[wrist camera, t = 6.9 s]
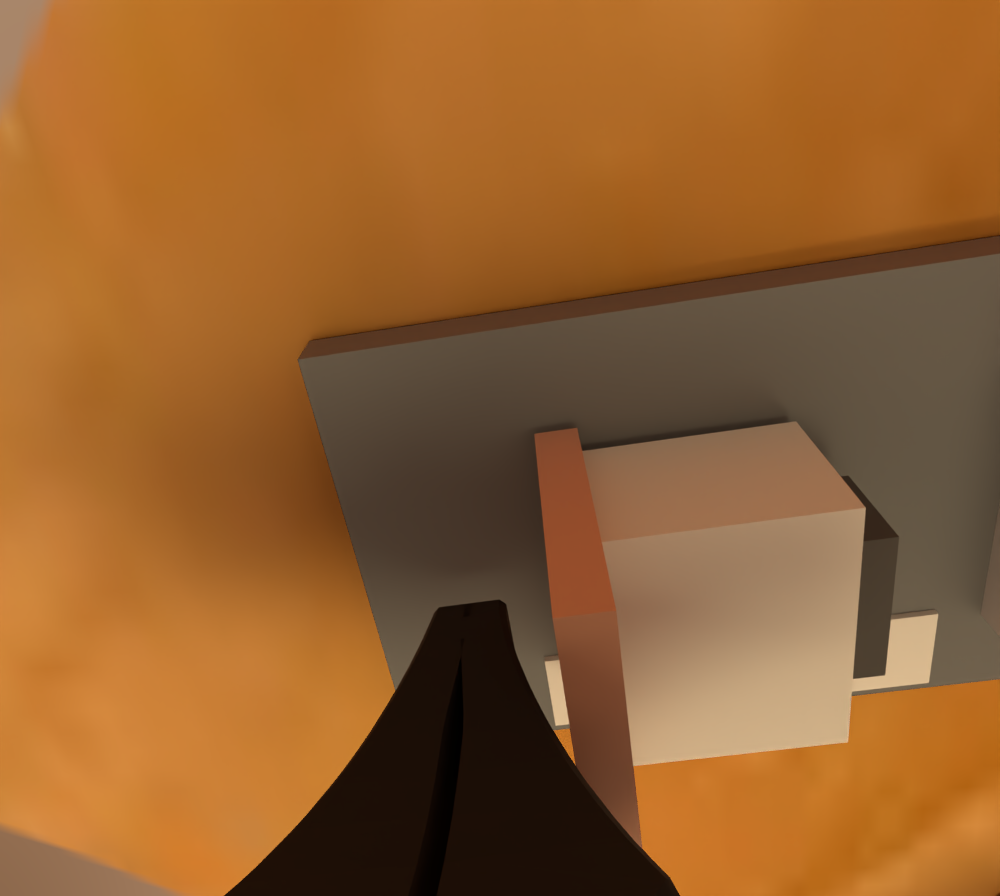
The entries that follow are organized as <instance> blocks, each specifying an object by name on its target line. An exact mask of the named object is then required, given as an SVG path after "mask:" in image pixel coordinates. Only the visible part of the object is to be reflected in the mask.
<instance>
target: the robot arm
mask: <svg viewBox="0 0 1000 896" xmlns="http://www.w3.org/2000/svg"><path fill="white" fill-rule="evenodd" d="M224 896H680V895H679V893H678V891H677V890H676V888H675V886H674V884H673V882H672V881H671V879H670V877H669V876H668V875H667V874H666V873H665V872H664V871H663V870H662V869H661V868H660V867H659V866H658V865H657V864H656V863H655V862H654V861H653V860H652V859H651V858H650V857H649V856H648V855H647V854H646V852H645V851H644V850H643V849H642V848H641V847H640V846H639V845H638V844H637V843H636V842H635V841H634V840H633V838H632V837H631V836H630V835H629V834H628V833H627V831H626V830H625V829H624V828H623V827H622V826H621V824H620V823H619V822H618V821H617V820H616V819H615V818H614V816H613V815H612V814H611V812H610V811H609V810H608V809H607V807H606V806H605V805H604V803H603V802H602V801H601V799H600V798H599V797H598V796H597V794H596V793H595V792H594V790H593V789H592V788H591V787H590V785H589V784H588V783H587V781H586V780H585V779H584V777H583V776H582V774H581V773H580V771H579V770H578V768H577V767H576V766H575V764H574V763H573V761H572V760H571V758H570V757H569V755H568V754H567V752H566V750H565V749H564V747H563V746H562V744H561V742H560V741H559V739H558V738H557V736H556V734H555V733H554V731H553V729H552V727H551V726H550V724H549V722H548V720H547V719H546V717H545V715H544V713H543V711H542V709H541V707H540V705H539V703H538V702H537V700H536V698H535V696H534V693H533V691H532V689H531V687H530V685H529V683H528V680H527V678H526V676H525V673H524V671H523V669H522V666H521V664H520V662H519V659H518V656H517V654H516V651H515V647H514V642H513V636H512V631H511V626H510V621H509V616H508V610H507V605H506V604H505V603H504V602H502V601H501V600H491V601H483V602H476V603H468V604H460V605H452V606H444V607H439V608H438V609H437V610H436V611H435V612H434V614H433V617H432V619H431V621H430V624H429V626H428V628H427V630H426V633H425V635H424V637H423V639H422V641H421V643H420V645H419V647H418V649H417V651H416V653H415V655H414V657H413V659H412V661H411V663H410V665H409V667H408V669H407V671H406V673H405V674H404V676H403V678H402V680H401V682H400V684H399V685H398V687H397V689H396V691H395V693H394V694H393V696H392V698H391V700H390V701H389V703H388V704H387V706H386V708H385V709H384V711H383V712H382V714H381V716H380V717H379V719H378V720H377V722H376V724H375V725H374V727H373V728H372V730H371V732H370V733H369V735H368V736H367V738H366V739H365V741H364V742H363V743H362V745H361V746H360V748H359V749H358V751H357V752H356V753H355V755H354V756H353V758H352V759H351V760H350V762H349V763H348V764H347V766H346V767H345V768H344V770H343V771H342V772H341V774H340V775H339V776H338V778H337V779H336V780H335V781H334V783H333V784H332V785H331V786H330V788H329V789H328V790H327V791H326V792H325V794H324V795H323V796H322V797H321V798H320V800H319V801H318V802H317V803H316V804H315V806H314V807H313V808H312V809H311V810H310V811H309V813H308V814H307V815H306V816H305V817H304V818H303V819H302V820H301V822H300V823H299V824H298V825H297V826H296V827H295V828H294V829H293V830H292V831H291V832H290V833H289V834H288V835H287V836H286V837H285V838H284V840H283V841H282V842H281V843H280V844H279V845H278V846H277V847H276V848H275V849H274V850H273V851H272V852H271V853H270V854H269V855H268V856H267V857H266V858H265V859H264V860H263V861H262V862H261V863H260V864H259V865H258V866H257V867H256V868H255V869H254V870H253V871H251V872H250V873H249V874H248V875H247V876H246V877H245V878H244V879H243V880H242V881H241V882H239V883H238V884H237V885H236V886H235V887H234V888H232V889H231V890H230V891H229V892H228V893H227V894H225V895H224Z"/></svg>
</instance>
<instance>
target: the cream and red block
mask: <svg viewBox="0 0 1000 896" xmlns="http://www.w3.org/2000/svg"><path fill="white" fill-rule="evenodd" d="M534 436H535V447H536V457H537V467H538V477H539V487H540V497H541V507H542V517H543V528H544V538H545V548H546V558H547V568H548V578H549V588H550V598H551V609H552V619H553V625H554V631H555V638H556V644H557V650H558V656H559V663H560V669H561V675H562V682H563V688H564V694H565V701H566V707H567V713H568V720H569V726H570V732H571V738H572V745H573V751H574V757H575V764H576V767H577V768H578V770H579V771H580V773H581V774H582V776H583V777H584V779H585V780H586V781H587V783H588V784H589V785H590V787H591V788H592V789H593V790H594V792H595V793H596V794H597V796H598V797H599V798H600V799H601V801H602V802H603V803H604V805H605V806H606V807H607V809H608V810H609V811H610V812H611V814H612V815H613V816H614V818H615V819H616V820H617V821H618V822H619V823H620V824H621V826H622V827H623V828H624V829H625V830H626V831H627V833H628V834H629V835H630V836H631V837H632V838H633V840H634V841H635V842H636V843H637V844H638V845H639V846H640V847H641V848H642V842H641V833H640V824H639V815H638V806H637V796H636V787H635V778H634V769H633V766H638V765H647V764H656V763H665V762H674V761H683V760H692V759H701V758H710V757H719V756H728V755H737V754H746V753H755V752H764V751H773V750H782V749H791V748H800V747H809V746H818V745H827V744H836V743H845V742H848V735H849V722H850V709H851V696H852V683H853V679H858V678H867V677H875V676H884V675H885V673H886V663H887V653H888V643H889V633H890V623H891V614H892V604H893V594H894V584H895V574H896V565H897V555H898V545H899V536H898V535H897V533H896V532H895V531H894V530H893V529H892V527H891V526H890V525H889V524H888V523H887V521H886V520H885V519H884V518H883V517H882V515H881V514H880V513H879V512H878V511H877V509H876V508H875V507H874V506H873V505H872V503H871V502H870V501H869V500H868V498H867V497H866V496H865V495H864V494H863V492H862V491H861V490H860V489H859V488H858V486H857V485H856V484H855V483H854V482H853V480H852V479H851V478H850V477H849V476H840V475H839V474H838V473H837V471H836V470H835V469H834V468H833V466H832V465H831V464H830V463H829V462H828V460H827V459H826V458H825V457H824V455H823V454H822V453H821V452H820V450H819V449H818V448H817V447H816V445H815V444H814V443H813V442H812V440H811V439H810V438H809V437H808V436H807V434H806V433H805V432H804V431H803V429H802V428H801V427H800V426H799V424H798V423H797V422H796V421H795V422H788V423H780V424H773V425H766V426H759V427H752V428H744V429H737V430H730V431H723V432H716V433H709V434H701V435H694V436H687V437H680V438H673V439H665V440H658V441H651V442H644V443H637V444H629V445H622V446H615V447H608V448H601V449H594V450H586V451H582V448H581V443H580V439H579V434H578V429H577V428H572V429H564V430H557V431H550V432H543V433H536V434H534Z"/></svg>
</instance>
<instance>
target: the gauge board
mask: <svg viewBox="0 0 1000 896" xmlns="http://www.w3.org/2000/svg"><path fill="white" fill-rule="evenodd" d="M298 362H299V366H300V369H301V373H302V376H303V379H304V383H305V386H306V390H307V393H308V396H309V400H310V403H311V406H312V410H313V413H314V417H315V420H316V423H317V427H318V430H319V434H320V437H321V440H322V444H323V447H324V450H325V454H326V457H327V461H328V464H329V467H330V471H331V474H332V477H333V481H334V484H335V488H336V491H337V494H338V498H339V501H340V505H341V508H342V511H343V515H344V518H345V521H346V525H347V528H348V532H349V535H350V538H351V542H352V545H353V549H354V552H355V555H356V559H357V562H358V565H359V569H360V572H361V576H362V579H363V582H364V586H365V589H366V592H367V596H368V599H369V603H370V606H371V609H372V613H373V616H374V620H375V623H376V626H377V630H378V633H379V636H380V640H381V643H382V647H383V650H384V653H385V657H386V660H387V663H388V667H389V670H390V674H391V677H392V680H393V684H394V687H395V691H396V689H397V687H398V685H399V684H400V682H401V680H402V678H403V676H404V674H405V673H406V671H407V669H408V667H409V665H410V663H411V661H412V659H413V657H414V655H415V653H416V651H417V649H418V647H419V645H420V643H421V641H422V639H423V637H424V635H425V633H426V630H427V628H428V626H429V624H430V621H431V619H432V617H433V614H434V612H435V611H436V610H437V609H438V608H439V607H444V606H452V605H460V604H468V603H476V602H483V601H491V600H501V601H502V602H504V603H505V604H506V605H507V610H508V616H509V621H510V626H511V631H512V636H513V642H514V647H515V651H516V654H517V656H518V659H519V662H520V664H521V666H522V669H523V671H524V673H525V676H526V678H527V680H528V683H529V685H530V687H531V689H532V691H533V693H534V696H535V698H536V700H537V702H538V703H539V705H540V707H541V709H542V711H543V713H544V715H545V717H546V719H547V720H548V722H549V724H550V726H551V727H552V729H553V730H560V729H568V728H570V726H569V720H568V713H567V707H566V701H565V694H564V688H563V682H562V675H561V669H560V663H559V656H558V650H557V644H556V638H555V631H554V625H553V619H552V609H551V598H550V588H549V578H548V568H547V558H546V548H545V538H544V528H543V517H542V507H541V497H540V487H539V477H538V467H537V457H536V447H535V436H534V434H536V433H543V432H550V431H557V430H564V429H572V428H577V429H578V434H579V439H580V443H581V448H582V451H586V450H594V449H601V448H608V447H615V446H622V445H629V444H637V443H644V442H651V441H658V440H665V439H673V438H680V437H687V436H694V435H701V434H709V433H716V432H723V431H730V430H737V429H744V428H752V427H759V426H766V425H773V424H780V423H788V422H795V421H796V422H797V423H798V424H799V426H800V427H801V428H802V429H803V431H804V432H805V433H806V434H807V436H808V437H809V438H810V439H811V440H812V442H813V443H814V444H815V445H816V447H817V448H818V449H819V450H820V452H821V453H822V454H823V455H824V457H825V458H826V459H827V460H828V462H829V463H830V464H831V465H832V466H833V468H834V469H835V470H836V471H837V473H838V474H839V475H840V476H849V477H850V478H851V479H852V480H853V482H854V483H855V484H856V485H857V486H858V488H859V489H860V490H861V491H862V492H863V494H864V495H865V496H866V497H867V498H868V500H869V501H870V502H871V503H872V505H873V506H874V507H875V508H876V509H877V511H878V512H879V513H880V514H881V515H882V517H883V518H884V519H885V520H886V521H887V523H888V524H889V525H890V526H891V527H892V529H893V530H894V531H895V532H896V533H897V535H898V536H899V545H898V555H897V565H896V574H895V584H894V594H893V604H892V614H891V623H890V633H889V643H888V653H887V663H886V673H885V675H884V676H875V677H867V678H858V679H853V683H852V696H856V695H865V694H873V693H882V692H891V691H900V690H908V689H917V688H926V687H935V686H943V685H952V684H961V683H969V682H978V681H987V680H996V679H1000V236H995V237H988V238H981V239H975V240H968V241H962V242H955V243H949V244H942V245H936V246H929V247H922V248H916V249H909V250H903V251H896V252H890V253H883V254H877V255H870V256H863V257H857V258H850V259H844V260H837V261H831V262H824V263H818V264H811V265H804V266H798V267H791V268H785V269H778V270H772V271H765V272H758V273H752V274H745V275H739V276H732V277H726V278H719V279H713V280H706V281H699V282H693V283H686V284H680V285H673V286H667V287H660V288H654V289H647V290H640V291H634V292H627V293H621V294H614V295H608V296H601V297H595V298H588V299H581V300H575V301H568V302H562V303H555V304H549V305H542V306H536V307H529V308H522V309H516V310H509V311H503V312H496V313H490V314H483V315H477V316H470V317H463V318H457V319H450V320H444V321H437V322H431V323H424V324H417V325H411V326H404V327H398V328H391V329H385V330H378V331H372V332H365V333H358V334H352V335H345V336H339V337H332V338H326V339H319V340H313V341H309V343H308V344H307V346H306V347H305V349H304V350H303V352H302V354H301V355H300V357H299V358H298Z"/></svg>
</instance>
